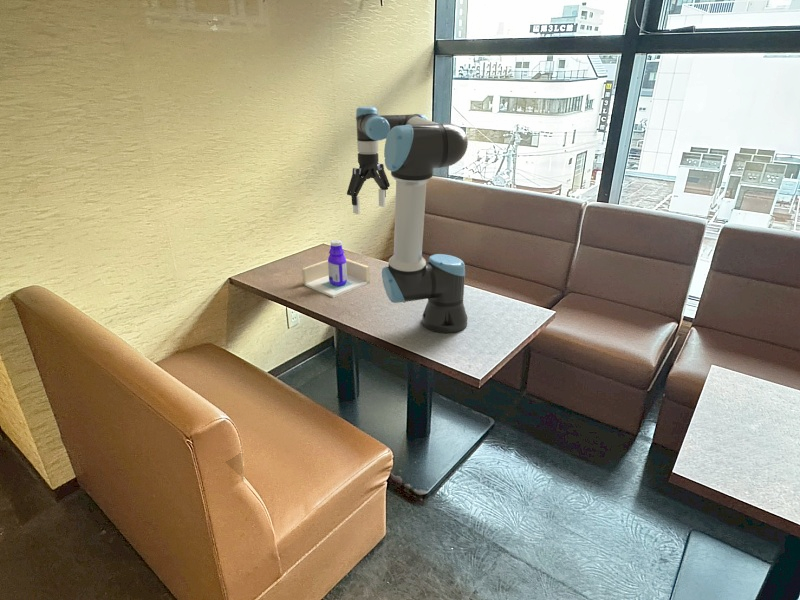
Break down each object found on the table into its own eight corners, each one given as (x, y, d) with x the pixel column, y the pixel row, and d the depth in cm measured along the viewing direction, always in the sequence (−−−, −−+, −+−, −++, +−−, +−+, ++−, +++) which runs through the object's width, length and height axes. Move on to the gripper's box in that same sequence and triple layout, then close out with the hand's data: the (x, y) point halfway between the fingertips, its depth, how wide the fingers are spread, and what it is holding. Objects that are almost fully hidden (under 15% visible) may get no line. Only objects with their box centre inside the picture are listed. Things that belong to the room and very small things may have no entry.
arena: (369, 282, 201) (369, 266, 198) (333, 297, 188) (332, 280, 185) (339, 271, 212) (338, 255, 209) (303, 284, 199) (301, 268, 196)
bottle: (350, 283, 198) (348, 241, 190) (339, 288, 194) (337, 245, 186) (337, 279, 202) (334, 237, 194) (326, 283, 198) (323, 241, 190)
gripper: (384, 147, 193) (385, 202, 202) (335, 155, 177) (338, 214, 186) (398, 149, 189) (398, 205, 198) (349, 157, 172) (352, 218, 181)
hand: (369, 209), depth 192 cm, fingers open, 13 cm apart
